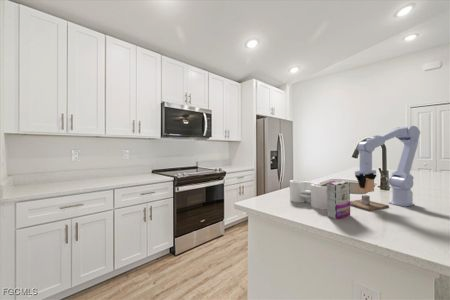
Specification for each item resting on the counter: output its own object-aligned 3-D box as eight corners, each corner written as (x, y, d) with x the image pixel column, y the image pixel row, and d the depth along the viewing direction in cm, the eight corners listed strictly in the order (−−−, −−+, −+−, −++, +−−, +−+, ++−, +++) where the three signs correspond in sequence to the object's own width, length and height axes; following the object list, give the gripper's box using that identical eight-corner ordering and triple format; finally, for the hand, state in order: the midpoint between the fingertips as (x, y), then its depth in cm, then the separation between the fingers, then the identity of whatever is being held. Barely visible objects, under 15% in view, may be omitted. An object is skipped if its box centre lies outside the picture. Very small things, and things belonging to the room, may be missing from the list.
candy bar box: (340, 212, 102) (340, 180, 102) (350, 215, 98) (350, 181, 97) (326, 216, 97) (326, 182, 97) (336, 219, 93) (335, 184, 92)
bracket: (286, 200, 127) (286, 181, 126) (296, 197, 132) (295, 179, 132) (324, 210, 106) (324, 187, 106) (334, 207, 111) (334, 185, 111)
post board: (363, 200, 122) (363, 191, 122) (388, 207, 109) (388, 197, 109) (344, 203, 117) (343, 194, 117) (368, 211, 104) (368, 200, 103)
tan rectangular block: (364, 189, 116) (364, 178, 116) (374, 191, 111) (374, 179, 111) (358, 190, 114) (358, 178, 114) (367, 192, 109) (367, 180, 109)
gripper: (363, 164, 106) (363, 189, 106) (382, 162, 111) (381, 187, 112) (351, 163, 113) (351, 187, 113) (368, 162, 118) (368, 185, 118)
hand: (365, 187), depth 113 cm, fingers closed on tan rectangular block, 5 cm apart
